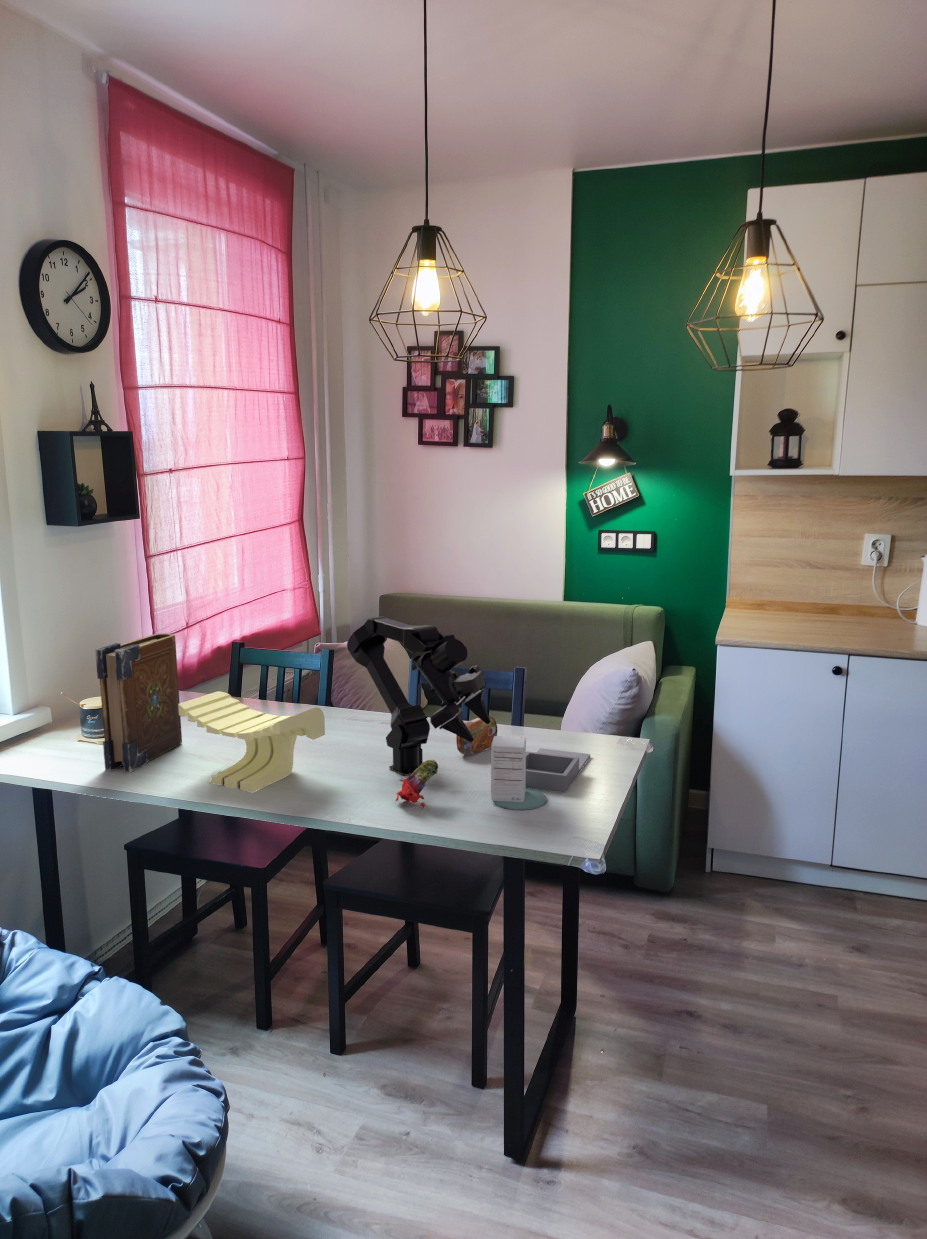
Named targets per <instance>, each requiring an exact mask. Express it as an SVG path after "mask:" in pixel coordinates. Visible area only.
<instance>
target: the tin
mask: <svg viewBox="0 0 927 1239" xmlns="http://www.w3.org/2000/svg"><path fill="white" fill-rule="evenodd" d="M489 718H490V721H491V722H490V723H489V724H486V723H485V722H483V721H482V720H481V719H480V718H479V717H478V716H477V717H476V718H474V719H471V720H469V721H467V722H464V723H465V725H466V727H467V728H468V730H469V731H470V733H471V734H472V736H473V738H474V740H473V741H472V742H469V741H467V740H465V739H463V738H462V737H460V736H458V735H456V737H455V739H456V741H455V742H456V749H457V751H458V752H459V753H460V754H461V755H466V756H468V757H473V756H475V755H477V754H479V753H482V752H484V751H486V750H489V749H491V745H492V741H493V738H494V736H498V724H497V721H496V720H495V718H494V717H493V716H489Z"/></svg>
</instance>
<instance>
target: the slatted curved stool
mask: <svg viewBox="0 0 927 1239" xmlns="http://www.w3.org/2000/svg"><path fill="white" fill-rule="evenodd" d="M178 707H179V716H180V717H187V722H192V723H195V722H196V727H198V728H205V729H206V730H205V731H206V733H207V734H213V735H221V736H225V737H229V738H237V739H239V740H243V741H245V745H246V752H245V754H244V755H243V757H242V758H240V760H239V761H237V762H236V763H235V764H233V765H231V766H229V767H228V768H226V769H224V770H221V771H219V772H217V773H215V774H213V775H211V779H210V781H209V783H210V784H214V785H218V786H224V787H227V788H231V789H239V790H240V791H244V792H248V791H249V792H248V793H252V792H253V793H255V792H257V791H259V790H261V789H264V788H265V787H267V786H269V785H271V784H273V782H274V783H276V782H278V781H279V779H280V780H282V779H284V778H286V777H288V776H289V775H291V773H292V771H293V768H294V767H293V766H294V750H295V745H296V741H297V738H298V737H299V736H300V737H304V736H306V737H307V738H308V739H311V740H312V741H314V740H317V739H319V738H321V737H323V736H325V735H326V726H325V724H326V722H325V714H324V712H323V710H322V709H321V708H320V707H317V706H315V707H312V708H310V709H307V710H305V711H302V712H301V713H297V714H295V715H281V716H280V715H274V714H270V713H264V712H262V711H258V710H255V709H252V708H250V706H249V705H247V704H245V703H242V702H241V701H240V700H238V699H236V698H233V697H232V695H231V694H229V693H227V692H225V691H214V692H211V693H208V694H205V695H201V696H198V697H195V698H193V699H190V700H186V701H183V702H180V704H178ZM287 775H288V776H287ZM283 777H284V778H283ZM281 778H282V779H281ZM275 781H276V782H275ZM258 789H259V790H258ZM256 790H257V791H256Z"/></svg>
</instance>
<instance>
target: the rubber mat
mask: <svg viewBox="0 0 927 1239" xmlns="http://www.w3.org/2000/svg"><path fill="white" fill-rule="evenodd" d="M547 800H548V798H547V795H546V794H545V793H544V792H542V791H540V790H539V789H533V788H526V791H525V798H524V802H506V801H492V802H493V804H494V805H496V806H498V807H500V808H503V809H507V810H514V811H530V810H534V809H539V808H540V807H543V806H545V805H546V803H547Z"/></svg>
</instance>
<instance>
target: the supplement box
mask: <svg viewBox="0 0 927 1239" xmlns="http://www.w3.org/2000/svg"><path fill="white" fill-rule="evenodd" d="M526 751H527V738H526V736H525V737H524V736H511V735H509V736H508V735H506V736H505V735H497V736H494V738H493V741H492V745H491V747H490V752H491V753H490V762H491V763H490V766H491V767H490V786H491V787H490V794H491V795H490V800H491V802H493V801H506V802H524V798H525V791H526Z"/></svg>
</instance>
